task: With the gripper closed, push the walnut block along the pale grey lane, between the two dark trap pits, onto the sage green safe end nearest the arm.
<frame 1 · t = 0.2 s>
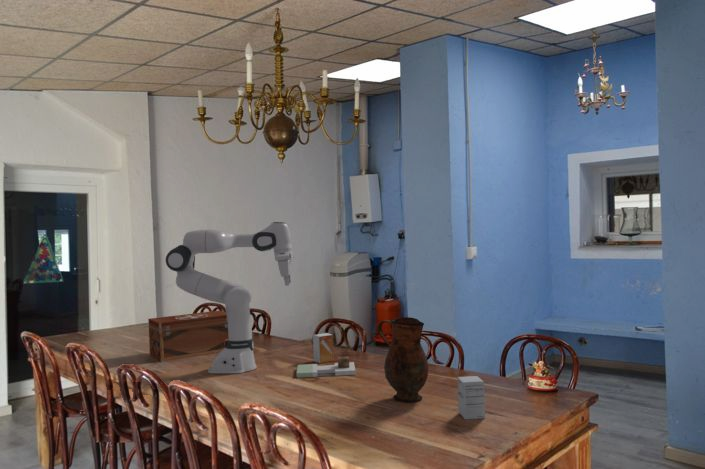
hand: (288, 284, 286), 39 cm above the table, tool pointing down, fingers open, 8 cm apart
wooden box: (192, 353, 327), on the table
walnut block: (343, 366, 274), point 2 cm above the table, touching trap lane
pitcher: (403, 398, 229), on the table
supplement box: (471, 416, 205), on the table
small box: (323, 361, 295), on the table
trap lane: (326, 371, 273), on the table
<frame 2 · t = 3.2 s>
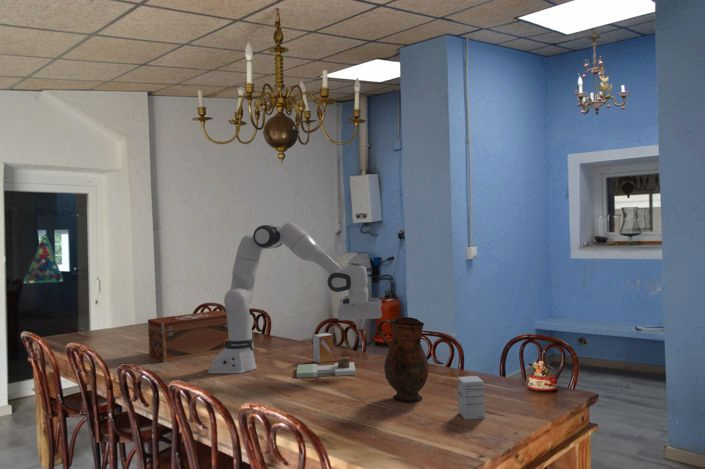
hand: (360, 329, 274), 19 cm above the table, tool pointing down, fingers closed
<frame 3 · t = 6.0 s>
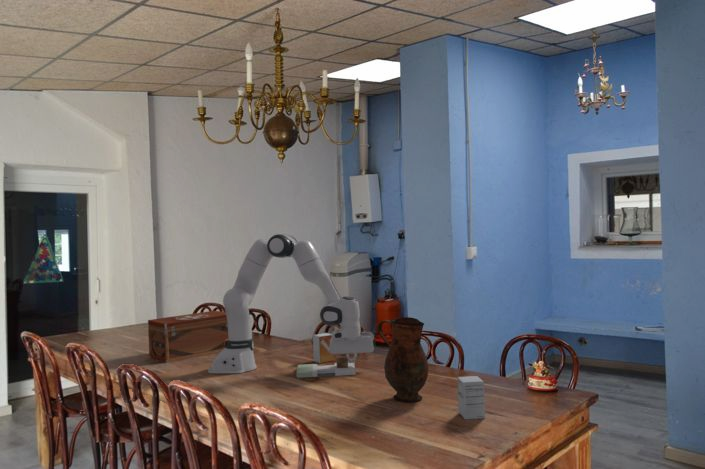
hand: (351, 362, 274), 3 cm above the table, tool pointing down, fingers closed
walnut block: (342, 366, 274), point 2 cm above the table, touching gripper
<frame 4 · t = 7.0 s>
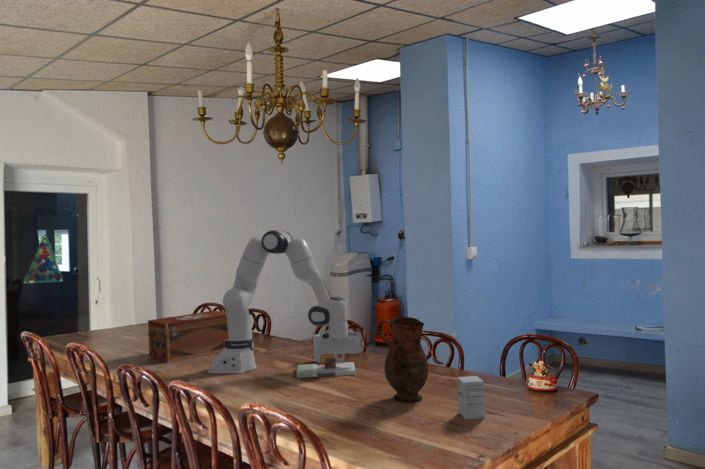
hand: (339, 363, 274), 4 cm above the table, tool pointing down, fingers closed
walnut block: (330, 367, 273), point 2 cm above the table, touching gripper, trap lane
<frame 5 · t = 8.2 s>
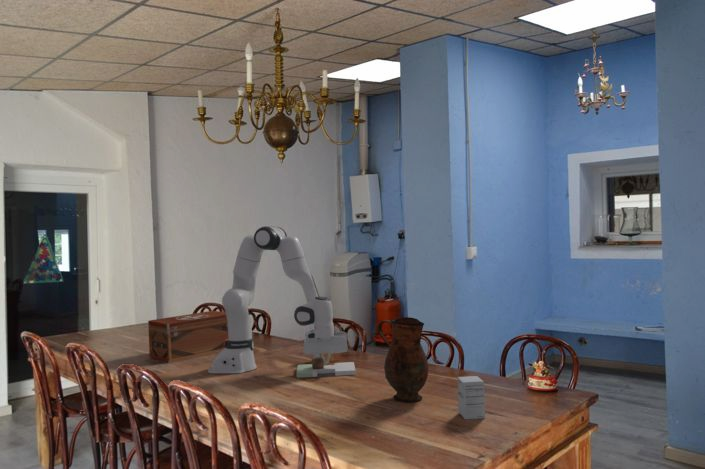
hand: (326, 363, 273), 4 cm above the table, tool pointing down, fingers closed
walnut block: (318, 367, 273), point 2 cm above the table, tilted 5°, touching gripper, trap lane
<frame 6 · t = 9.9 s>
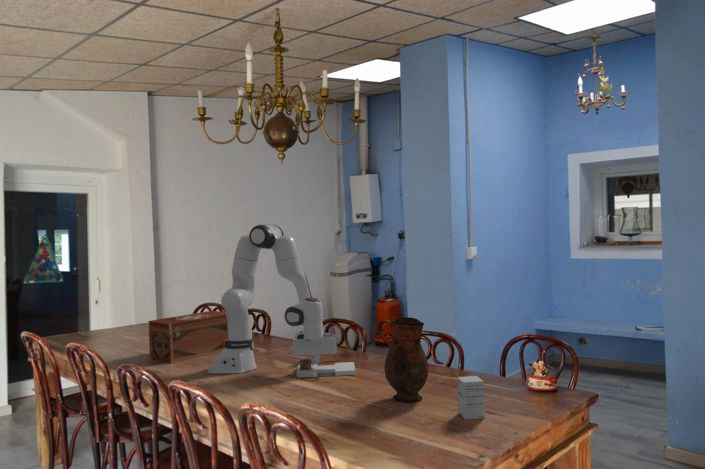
hand: (315, 364, 273), 4 cm above the table, tool pointing down, fingers closed
walnut block: (305, 368, 273), point 2 cm above the table, touching gripper, trap lane
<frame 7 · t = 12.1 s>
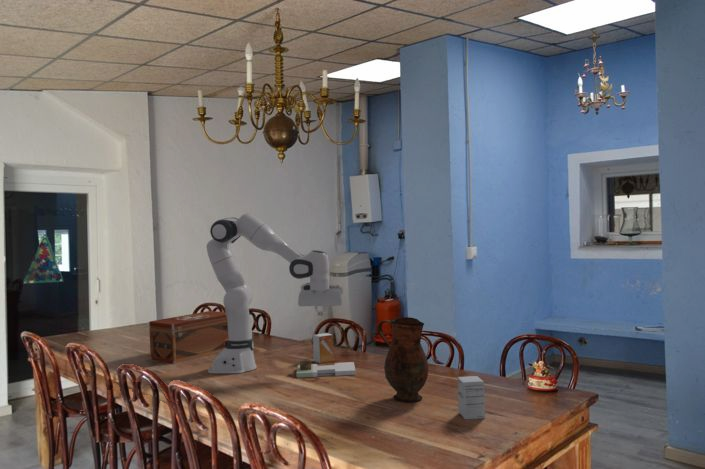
hand: (320, 315, 277), 25 cm above the table, tool pointing down, fingers closed
walnut block: (305, 368, 273), point 2 cm above the table, touching trap lane
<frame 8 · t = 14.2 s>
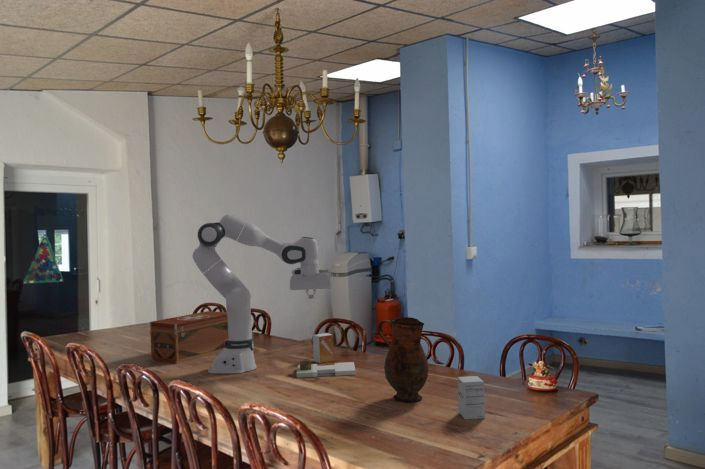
hand: (311, 298, 292), 31 cm above the table, tool pointing down, fingers closed
at the end: walnut block 0.5 cm from the target spot, point 2.0 cm above the table; walnut block tilted 0° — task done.
